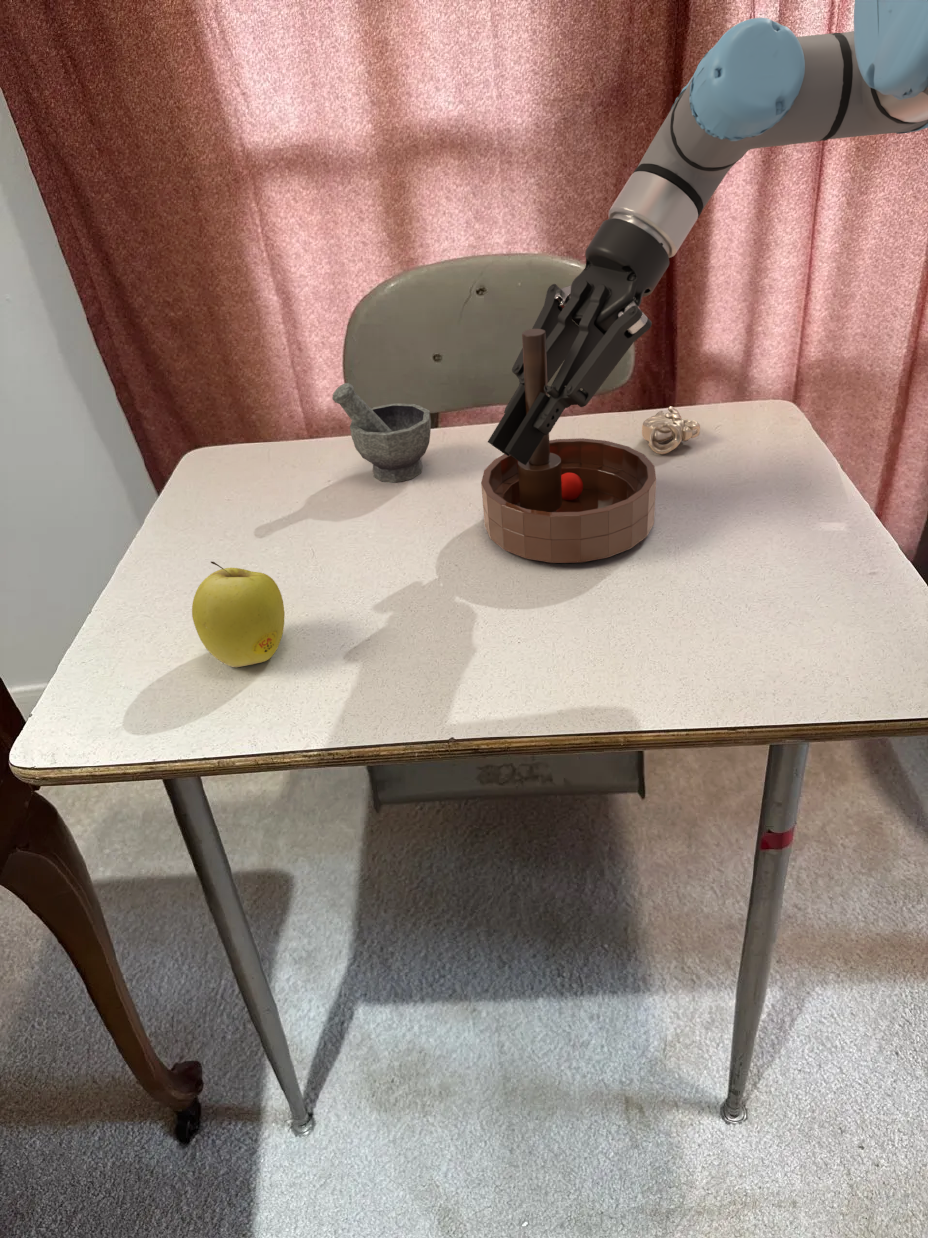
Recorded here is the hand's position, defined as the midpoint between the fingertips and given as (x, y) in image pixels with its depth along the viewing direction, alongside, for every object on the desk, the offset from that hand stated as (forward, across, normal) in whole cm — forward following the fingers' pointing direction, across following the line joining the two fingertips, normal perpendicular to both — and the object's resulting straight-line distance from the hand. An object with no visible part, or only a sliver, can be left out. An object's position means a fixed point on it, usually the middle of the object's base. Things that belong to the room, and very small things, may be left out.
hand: (506, 453), depth 83 cm
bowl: (+3, -2, -11) cm, 12 cm away
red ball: (-1, +2, -12) cm, 12 cm away
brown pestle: (+2, 0, -8) cm, 8 cm away
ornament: (-13, +6, -27) cm, 30 cm away
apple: (+28, -1, +14) cm, 31 cm away
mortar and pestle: (+8, +23, -6) cm, 25 cm away
